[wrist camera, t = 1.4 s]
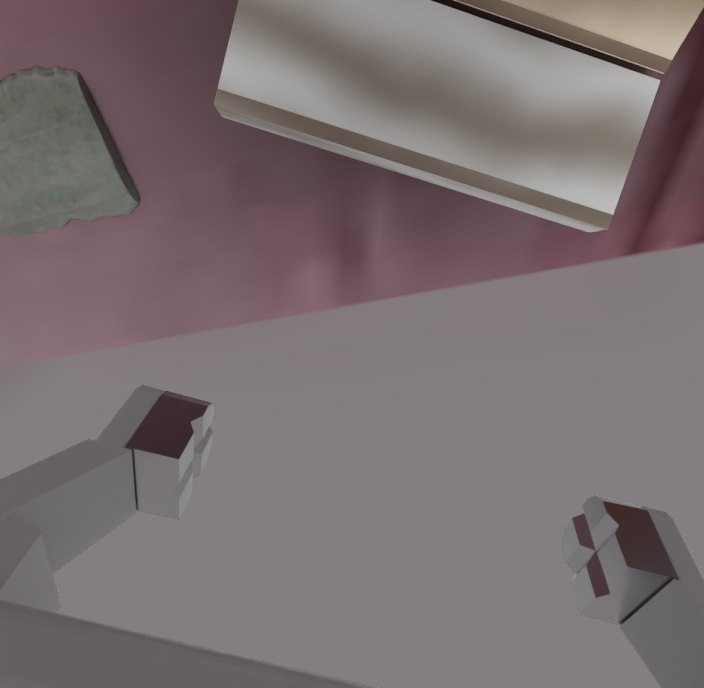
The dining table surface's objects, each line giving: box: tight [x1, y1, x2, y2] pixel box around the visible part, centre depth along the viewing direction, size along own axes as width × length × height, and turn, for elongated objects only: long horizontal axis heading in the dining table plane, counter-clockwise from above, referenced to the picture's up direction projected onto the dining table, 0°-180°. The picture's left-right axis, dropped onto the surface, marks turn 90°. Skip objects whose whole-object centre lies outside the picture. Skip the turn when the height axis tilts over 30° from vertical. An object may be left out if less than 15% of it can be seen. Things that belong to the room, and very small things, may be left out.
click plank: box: [214, 0, 661, 232], centre depth 26 cm, size 8×22×2 cm, turn 74°
